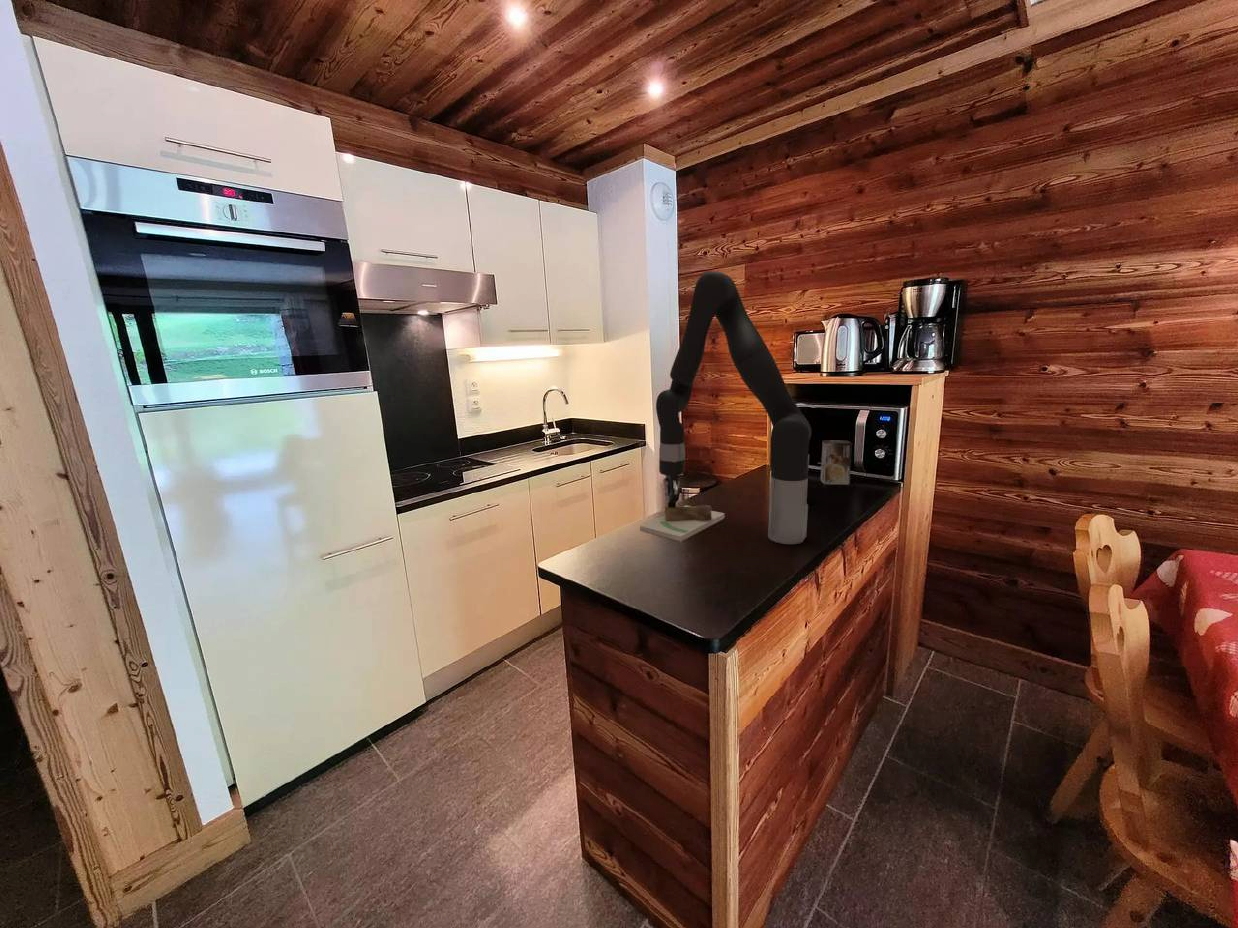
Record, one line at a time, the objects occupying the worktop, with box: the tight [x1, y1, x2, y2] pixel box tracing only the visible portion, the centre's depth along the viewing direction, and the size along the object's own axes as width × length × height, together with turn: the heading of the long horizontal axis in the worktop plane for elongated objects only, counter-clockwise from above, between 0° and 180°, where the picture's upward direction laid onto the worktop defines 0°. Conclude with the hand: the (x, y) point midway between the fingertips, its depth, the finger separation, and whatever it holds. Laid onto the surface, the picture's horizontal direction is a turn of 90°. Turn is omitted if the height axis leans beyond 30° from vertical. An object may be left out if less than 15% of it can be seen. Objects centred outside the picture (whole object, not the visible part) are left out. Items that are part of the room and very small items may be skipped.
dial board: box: [639, 504, 725, 542], centre depth 143 cm, size 24×14×2 cm, turn 139°
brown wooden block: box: [664, 504, 712, 520], centre depth 142 cm, size 14×4×4 cm, turn 92°
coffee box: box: [820, 439, 853, 486], centre depth 182 cm, size 9×6×16 cm
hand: (671, 513), depth 145 cm, fingers closed
